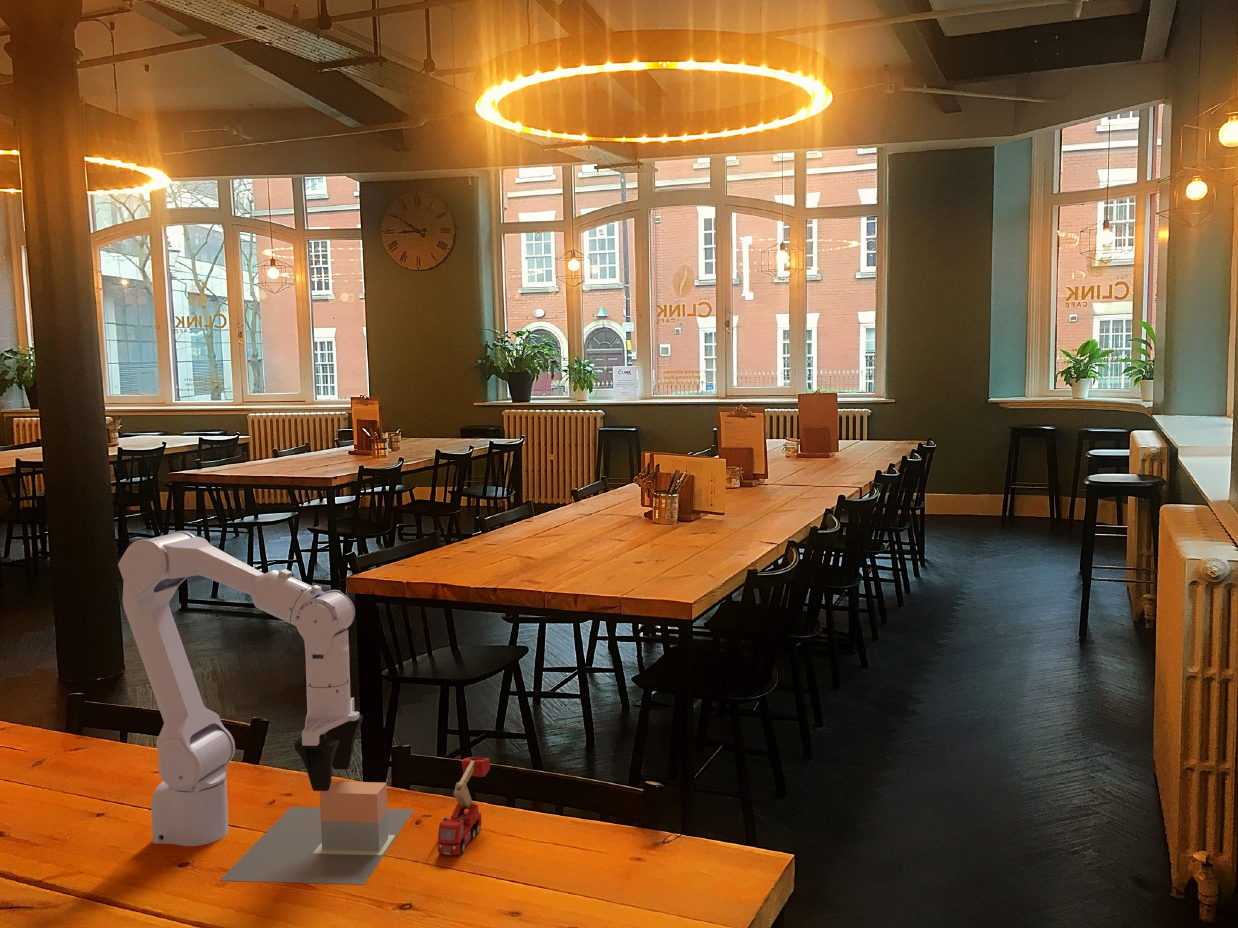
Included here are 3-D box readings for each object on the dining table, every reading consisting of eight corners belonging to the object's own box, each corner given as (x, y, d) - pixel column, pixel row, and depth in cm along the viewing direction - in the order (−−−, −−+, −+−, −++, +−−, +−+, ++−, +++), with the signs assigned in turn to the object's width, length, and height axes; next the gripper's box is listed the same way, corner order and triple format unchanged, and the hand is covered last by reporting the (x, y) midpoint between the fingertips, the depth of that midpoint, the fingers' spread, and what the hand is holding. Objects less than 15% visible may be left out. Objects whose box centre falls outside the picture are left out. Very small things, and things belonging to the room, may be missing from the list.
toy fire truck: (435, 857, 137) (433, 788, 136) (470, 815, 151) (468, 752, 150) (458, 859, 136) (457, 790, 136) (491, 817, 150) (490, 754, 149)
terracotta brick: (320, 821, 137) (319, 792, 136) (331, 809, 141) (330, 781, 140) (377, 822, 136) (377, 794, 136) (387, 810, 140) (386, 782, 140)
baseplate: (219, 889, 129) (219, 880, 129) (291, 814, 152) (291, 806, 152) (364, 893, 127) (364, 883, 127) (414, 817, 150) (414, 808, 150)
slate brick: (321, 850, 137) (320, 821, 137) (332, 837, 141) (331, 809, 141) (379, 851, 136) (378, 822, 136) (388, 838, 140) (387, 810, 140)
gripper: (338, 698, 130) (341, 800, 131) (373, 667, 144) (376, 760, 145) (284, 697, 130) (288, 799, 131) (325, 667, 145) (329, 759, 146)
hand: (331, 779), depth 138 cm, fingers open, 7 cm apart
